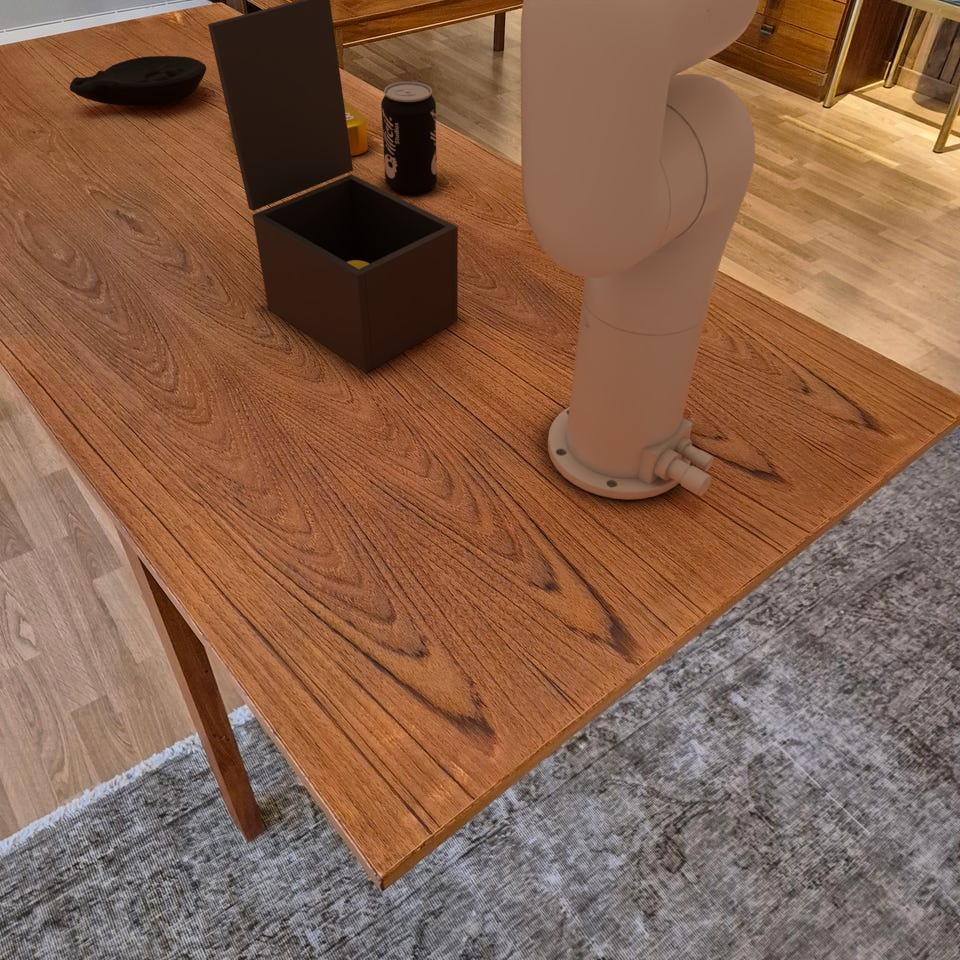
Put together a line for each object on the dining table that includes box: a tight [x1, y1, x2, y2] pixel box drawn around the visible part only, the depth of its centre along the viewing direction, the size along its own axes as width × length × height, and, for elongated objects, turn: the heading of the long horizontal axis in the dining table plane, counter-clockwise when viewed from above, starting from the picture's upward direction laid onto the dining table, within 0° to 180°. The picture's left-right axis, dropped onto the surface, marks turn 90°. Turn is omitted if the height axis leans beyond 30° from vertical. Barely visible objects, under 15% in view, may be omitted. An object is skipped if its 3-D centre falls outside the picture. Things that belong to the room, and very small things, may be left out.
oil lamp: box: [69, 55, 207, 108], centre depth 130 cm, size 15×20×5 cm
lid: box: [207, 0, 354, 212], centre depth 85 cm, size 16×13×5 cm
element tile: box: [343, 97, 369, 157], centre depth 121 cm, size 15×15×5 cm
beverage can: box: [380, 81, 438, 196], centre depth 110 cm, size 7×7×12 cm
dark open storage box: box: [251, 173, 459, 374], centre depth 89 cm, size 16×13×11 cm
